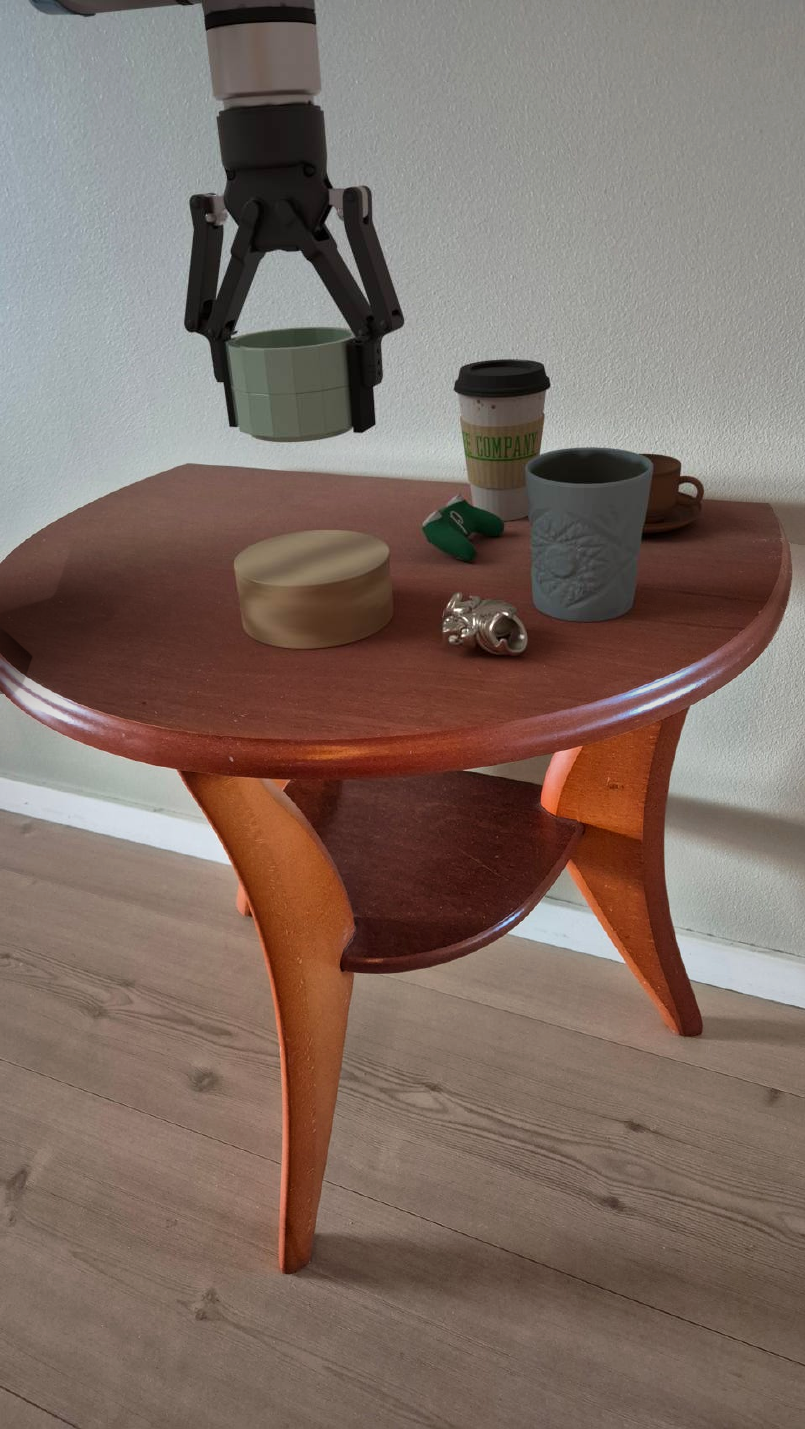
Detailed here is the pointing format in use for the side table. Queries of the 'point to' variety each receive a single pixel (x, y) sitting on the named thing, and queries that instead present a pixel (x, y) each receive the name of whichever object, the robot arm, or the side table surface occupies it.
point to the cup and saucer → (670, 496)
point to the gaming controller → (460, 527)
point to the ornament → (483, 625)
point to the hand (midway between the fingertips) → (301, 426)
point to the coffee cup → (501, 430)
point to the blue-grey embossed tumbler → (586, 530)
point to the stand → (314, 588)
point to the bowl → (291, 383)
